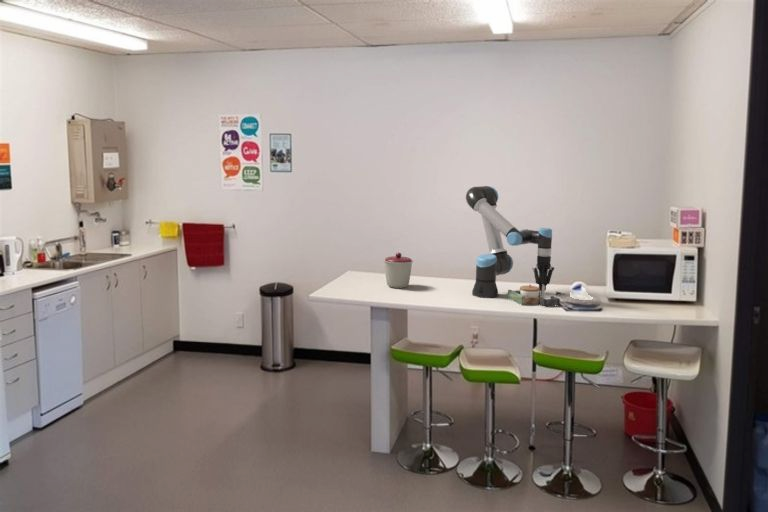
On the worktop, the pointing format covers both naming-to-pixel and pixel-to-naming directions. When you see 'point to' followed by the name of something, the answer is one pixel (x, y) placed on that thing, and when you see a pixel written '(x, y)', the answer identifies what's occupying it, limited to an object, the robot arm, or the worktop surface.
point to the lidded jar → (529, 291)
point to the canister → (398, 271)
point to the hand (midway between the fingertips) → (541, 296)
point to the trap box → (532, 299)
